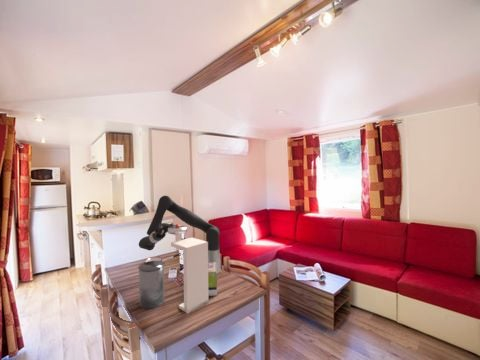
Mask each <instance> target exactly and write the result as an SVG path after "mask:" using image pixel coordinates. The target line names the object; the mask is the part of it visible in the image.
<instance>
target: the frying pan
mask: <svg viewBox="0 0 480 360" xmlns="http://www.w3.org/2000/svg"><path fill="white" fill-rule="evenodd" d="M179 254H180V253H177V254H175V255H173V256H170V257H167V258H165V259H163V258H162V257H159V256H158V257H157V256H154V257H153V256H152V257H148V258H146V259H145V260H144V263H145V262H149V261H162V262H164V261H168V260H171V259H173V258H177V257H179V256H180V255H179Z"/></svg>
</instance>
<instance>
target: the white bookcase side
mask: <svg viewBox="0 0 480 360" xmlns="http://www.w3.org/2000/svg"><path fill="white" fill-rule="evenodd" d="M170 247H173V248H175V249H177V250H181V251H183V254H182V255H183V260H182V261H183V267H182V268H183V302H182V303H180V304H178V308H179V309H180V310H181V311H183V312H185V313H186V314H190V313H191V312H193V311H196V310H197V309H199V308H201V307H203V306H204V305H207V304H208V303H209V297H210V296H208V242H206V240H203V239H198V238H196V237H188V238H185V239H180V240H176V241H171V242H170Z"/></svg>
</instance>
